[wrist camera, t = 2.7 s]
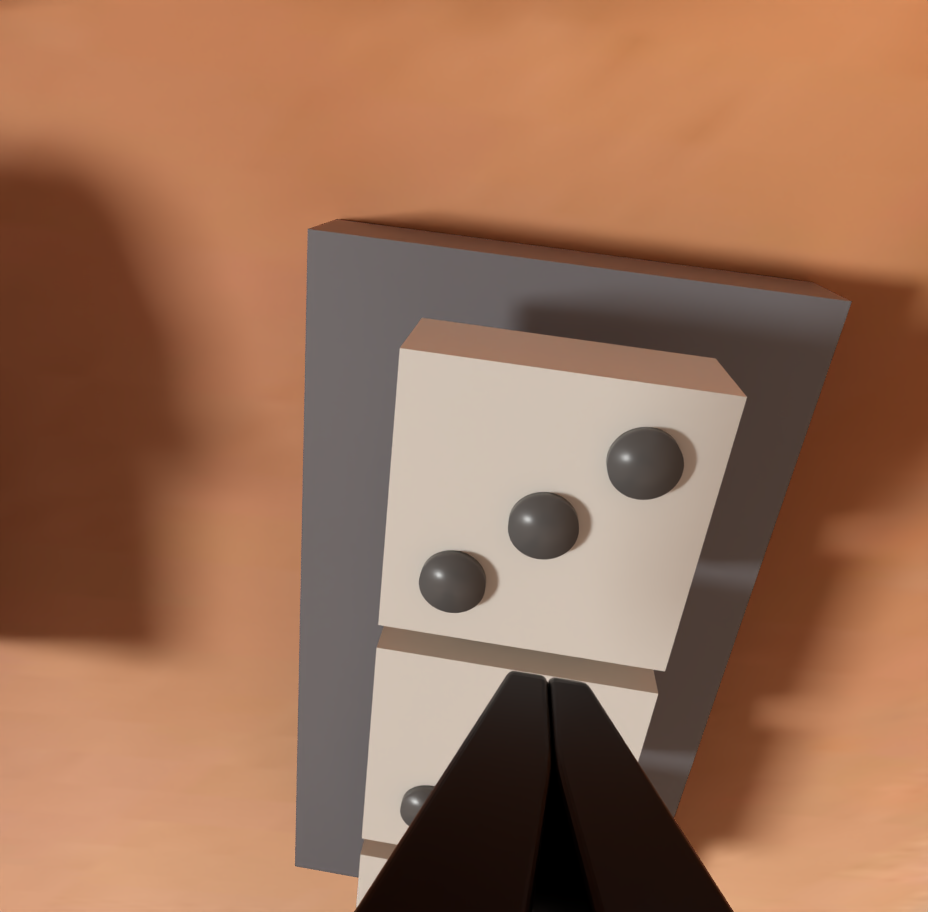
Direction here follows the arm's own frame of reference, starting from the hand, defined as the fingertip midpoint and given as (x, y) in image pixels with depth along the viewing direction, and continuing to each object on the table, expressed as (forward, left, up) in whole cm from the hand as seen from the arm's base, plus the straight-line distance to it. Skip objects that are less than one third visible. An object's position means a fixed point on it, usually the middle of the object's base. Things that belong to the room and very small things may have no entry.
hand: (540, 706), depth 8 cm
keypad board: (-5, 0, -9) cm, 11 cm away
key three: (0, 0, -6) cm, 6 cm away
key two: (-5, 0, -6) cm, 8 cm away
